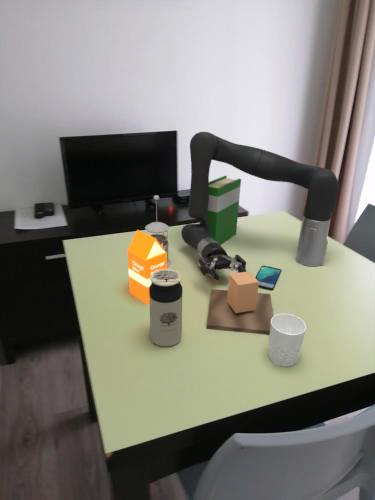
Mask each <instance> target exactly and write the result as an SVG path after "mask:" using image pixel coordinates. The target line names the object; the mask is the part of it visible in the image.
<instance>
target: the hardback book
mask: <svg viewBox="0 0 375 500" xmlns="http://www.w3.org/2000/svg"><path fill="white" fill-rule="evenodd" d="M227 176H228V175H224V176H221V177H218V178H216V179H213V180H211V181H210V180H209V202H208V212H207V214H208V223H209V229H210V236H211V237H212V238H213V239H214V240H215V241H217V242H218V243H219V244H220V245H223V244H224V243H225V242H227V241H229V240H230V239H232V238H233V237H235V236H236V235H237V228H238V217H239V206H240V196H241V194H240V193H241V185H242V183H241V182H242V179H241V178H237V179H232V178H228V177H227Z"/></svg>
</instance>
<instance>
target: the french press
mask: <svg viewBox="0 0 375 500" xmlns="http://www.w3.org/2000/svg"><path fill="white" fill-rule="evenodd" d="M153 200H155V209H156V212H155V213H156V214H155V216H156V218H155V219H156V221H153V222H151V223H149V224H147V225H145V227H144V229H145V231H147V232H148V233H150V234H149V235H150V236H152V237H154V238H156V240H157V241H158V242H159V244H160V245H161V246H162V248H163V249H164V250H165V252H167V268H169V267H171V265H172V261H171V260H170V259H169V241H168V237H169V235H168V230H169V227H170V226H169V225H167V224H166V223H163V222H161V221H158V204H157V203H158V201H157V200H160V196H159V195H157V194H156V195H153ZM165 232H166V235H165V234H164V233H165ZM151 233H152V234H151Z"/></svg>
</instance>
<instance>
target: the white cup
mask: <svg viewBox="0 0 375 500" xmlns="http://www.w3.org/2000/svg"><path fill="white" fill-rule="evenodd" d="M306 330H307V324H306V322H305V321H304V320H303V319H301V318H300V317H298V316H297V315H295V314H291V313H277V314H275V315H273V317H272V319H271V325H270V335H269V336H268V353H267V355H268V357H269V360H270V361H271V362H272V363H273V364H275V365H277V366H279V367H283V368H288V367H292V366H294V365H295V364H296V363H297V362H298V357H299V354H300V352H301V348H302V345H303V341H304V339H305V338H304V337H305V333H306Z"/></svg>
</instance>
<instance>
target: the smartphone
mask: <svg viewBox="0 0 375 500" xmlns="http://www.w3.org/2000/svg"><path fill="white" fill-rule="evenodd" d="M260 266H261V267H260V268H259V269H258V271H257V274H256V276H254V277H255V278H256V279H257V280H258V281H259V286H258V289H262V290H265V291H266V290H267V291H270V292H272V291H274V290H275V287H276V285H277V284H278V283H277V282H278V281H279V279H280V276H281V273H282V269H281V268H277V267H273V266H269V265H268V266H267V265H260Z"/></svg>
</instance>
